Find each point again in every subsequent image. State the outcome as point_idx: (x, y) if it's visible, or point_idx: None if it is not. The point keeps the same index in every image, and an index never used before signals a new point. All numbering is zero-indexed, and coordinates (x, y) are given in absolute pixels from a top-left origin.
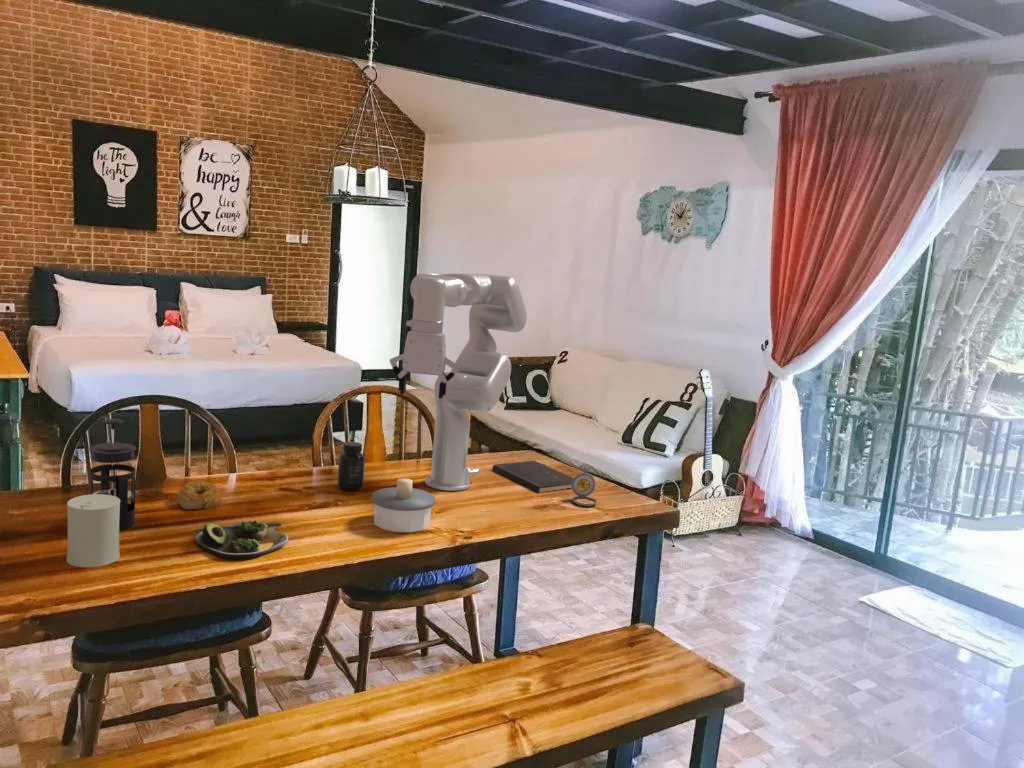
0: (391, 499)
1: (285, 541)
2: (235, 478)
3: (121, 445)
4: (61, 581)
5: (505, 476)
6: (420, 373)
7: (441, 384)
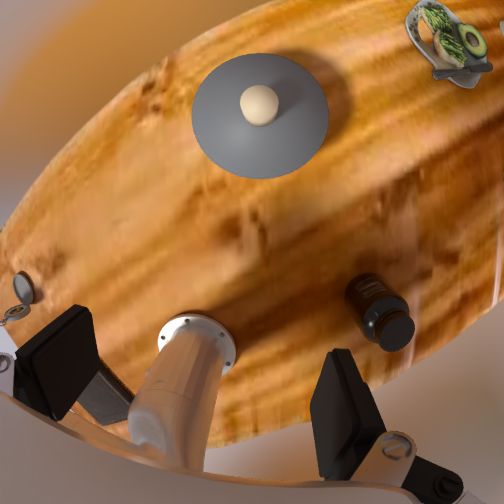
0: (284, 90)
1: (406, 20)
2: (494, 287)
3: None
4: (500, 6)
5: (122, 387)
6: (156, 462)
7: (25, 348)
